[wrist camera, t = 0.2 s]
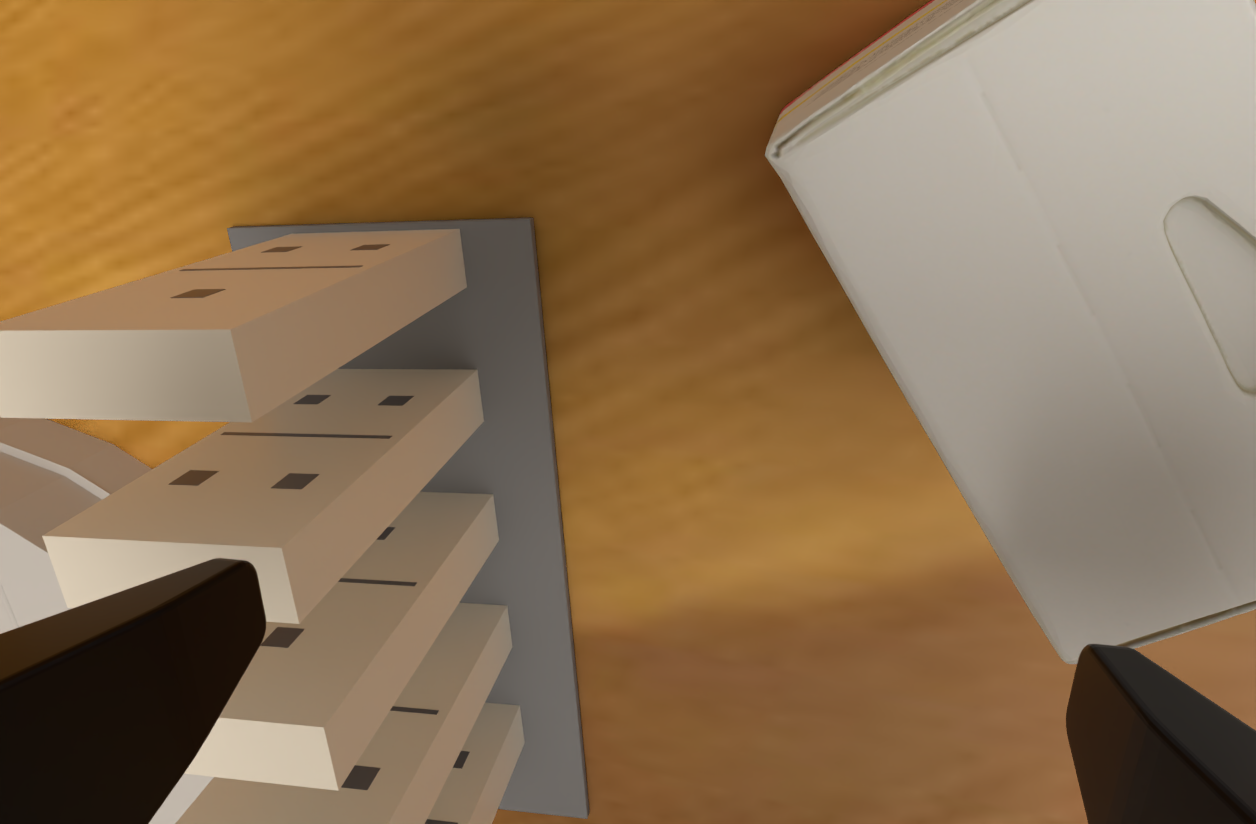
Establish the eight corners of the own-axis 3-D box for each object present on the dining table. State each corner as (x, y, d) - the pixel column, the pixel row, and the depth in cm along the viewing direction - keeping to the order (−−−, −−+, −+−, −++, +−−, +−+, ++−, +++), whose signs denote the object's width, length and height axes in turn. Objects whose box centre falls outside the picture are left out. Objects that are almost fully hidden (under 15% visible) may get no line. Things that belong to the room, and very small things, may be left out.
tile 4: (483, 421, 24) (299, 624, 15) (328, 418, 25) (67, 607, 16) (477, 369, 24) (281, 547, 15) (318, 368, 25) (41, 535, 16)
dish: (256, 395, 26) (143, 461, 22) (388, 900, 34) (326, 1026, 30) (-276, 407, 31) (-463, 464, 26) (-52, 851, 39) (-165, 954, 34)
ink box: (767, 109, 20) (737, 140, 9) (959, -22, 19) (1193, -169, 8) (935, 394, 22) (1071, 694, 11) (1123, 299, 20) (1501, 543, 10)
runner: (589, 812, 30) (587, 818, 29) (358, 786, 31) (354, 793, 31) (533, 217, 22) (530, 219, 22) (233, 226, 24) (227, 228, 24)
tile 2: (512, 647, 27) (371, 931, 18) (372, 637, 28) (171, 902, 19) (507, 605, 27) (359, 877, 18) (364, 596, 28) (152, 850, 19)
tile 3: (499, 540, 26) (338, 791, 17) (351, 533, 27) (123, 767, 18) (493, 494, 25) (323, 727, 16) (342, 488, 26) (101, 706, 17)
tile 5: (466, 287, 23) (252, 422, 14) (303, 289, 24) (0, 418, 15) (459, 228, 22) (230, 328, 13) (291, 233, 23) (-31, 330, 14)
